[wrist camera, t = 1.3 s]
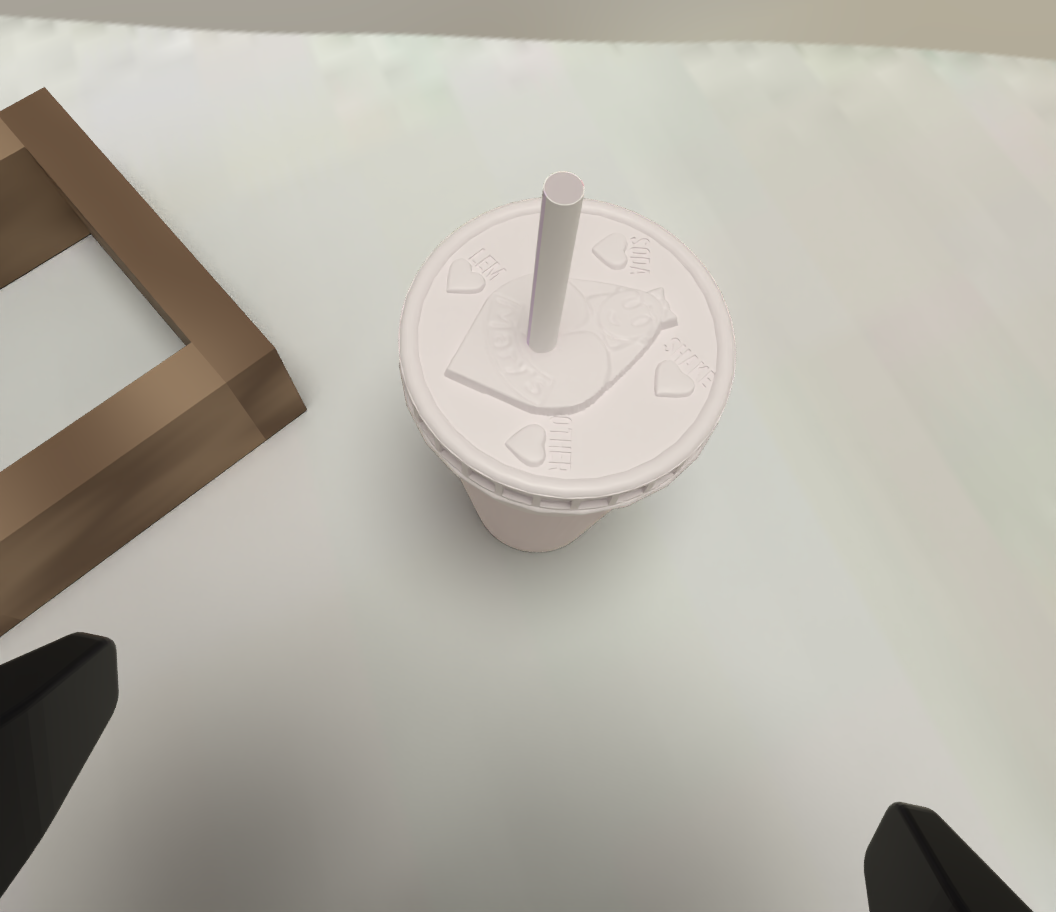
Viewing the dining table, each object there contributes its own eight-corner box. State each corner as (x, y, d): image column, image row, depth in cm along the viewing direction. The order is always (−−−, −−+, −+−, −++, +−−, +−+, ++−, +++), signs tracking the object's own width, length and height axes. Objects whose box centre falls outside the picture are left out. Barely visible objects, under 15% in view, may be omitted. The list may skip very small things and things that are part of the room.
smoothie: (400, 429, 24) (304, 54, 11) (596, 367, 25) (718, -40, 12) (468, 631, 22) (449, 465, 9) (677, 556, 23) (926, 311, 10)
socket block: (-30, 657, 21) (-138, 638, 18) (-221, 374, 24) (-353, 304, 20) (306, 409, 24) (275, 348, 21) (105, 179, 27) (44, 87, 23)
